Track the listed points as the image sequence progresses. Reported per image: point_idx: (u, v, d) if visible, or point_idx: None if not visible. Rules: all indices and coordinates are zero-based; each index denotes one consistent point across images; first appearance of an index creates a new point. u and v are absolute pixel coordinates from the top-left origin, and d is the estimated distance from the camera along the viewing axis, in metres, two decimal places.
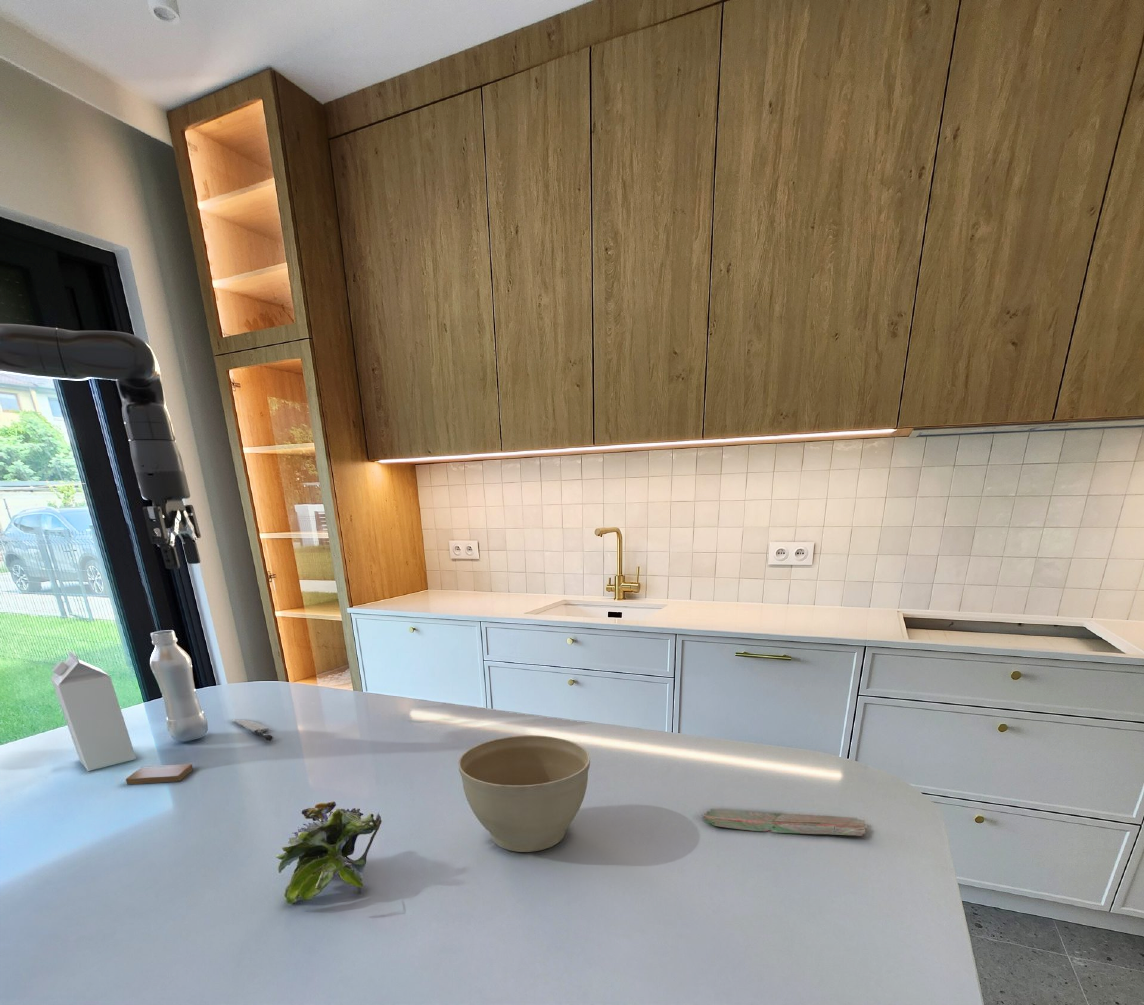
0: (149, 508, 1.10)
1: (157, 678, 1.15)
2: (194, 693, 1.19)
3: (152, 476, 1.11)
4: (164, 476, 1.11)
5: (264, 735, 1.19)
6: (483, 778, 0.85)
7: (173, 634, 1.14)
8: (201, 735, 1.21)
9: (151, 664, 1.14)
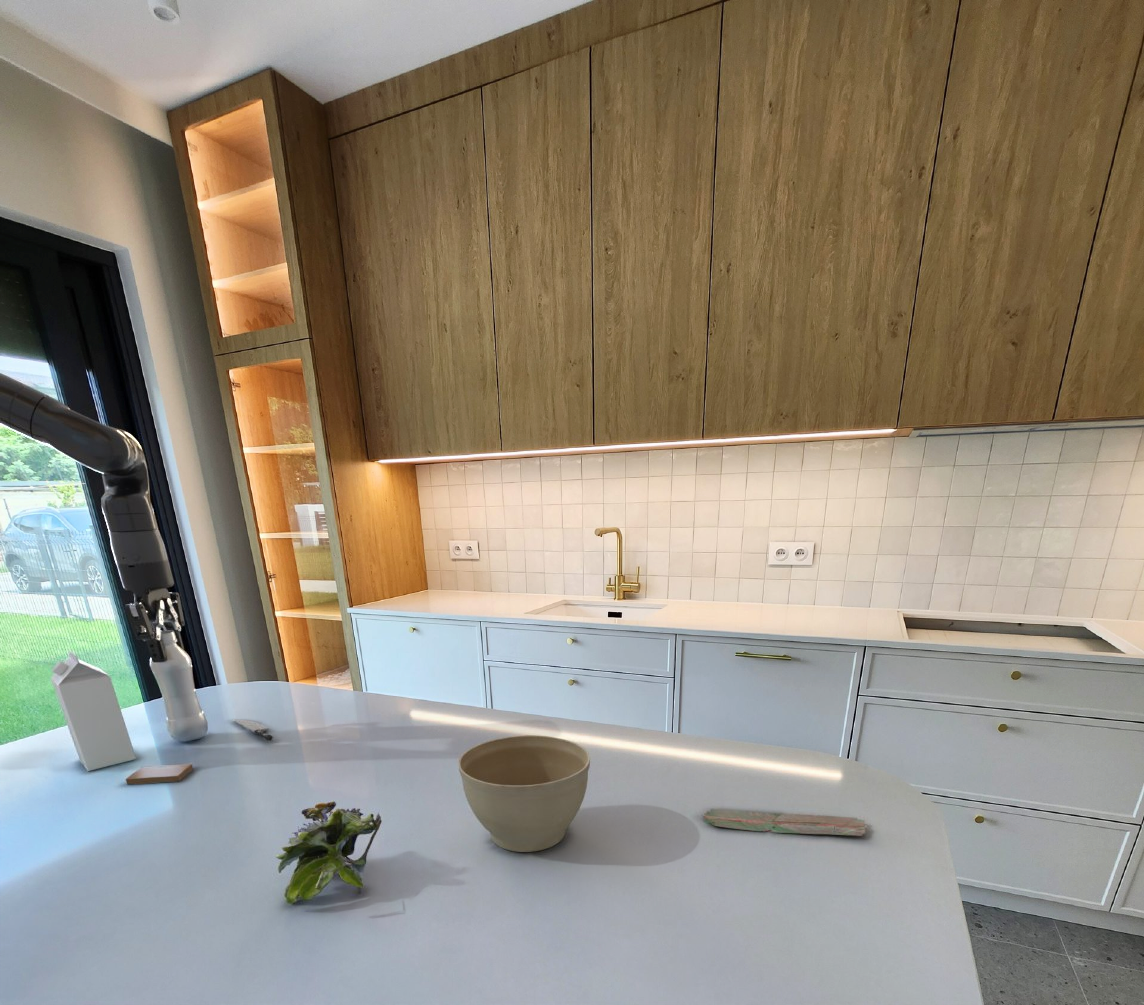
0: (131, 607, 1.06)
1: (157, 678, 1.15)
2: (194, 693, 1.19)
3: (133, 568, 1.06)
4: (146, 567, 1.07)
5: (264, 735, 1.19)
6: (483, 778, 0.85)
7: (173, 634, 1.14)
8: (201, 735, 1.21)
9: (151, 664, 1.14)
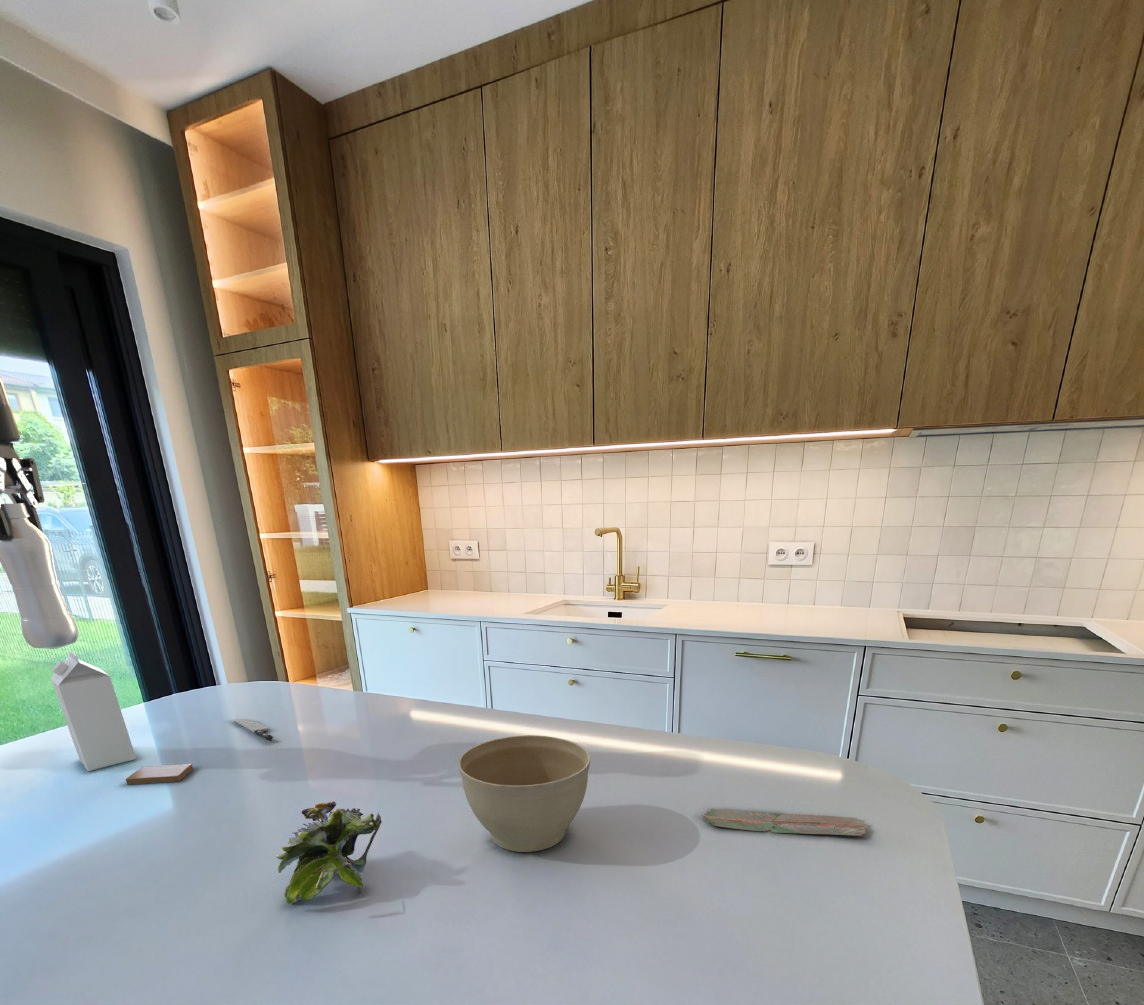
0: None
1: (2, 563, 0.90)
2: (56, 587, 0.94)
3: None
4: None
5: (264, 735, 1.19)
6: (483, 778, 0.85)
7: (22, 507, 0.90)
8: (67, 642, 0.96)
9: None
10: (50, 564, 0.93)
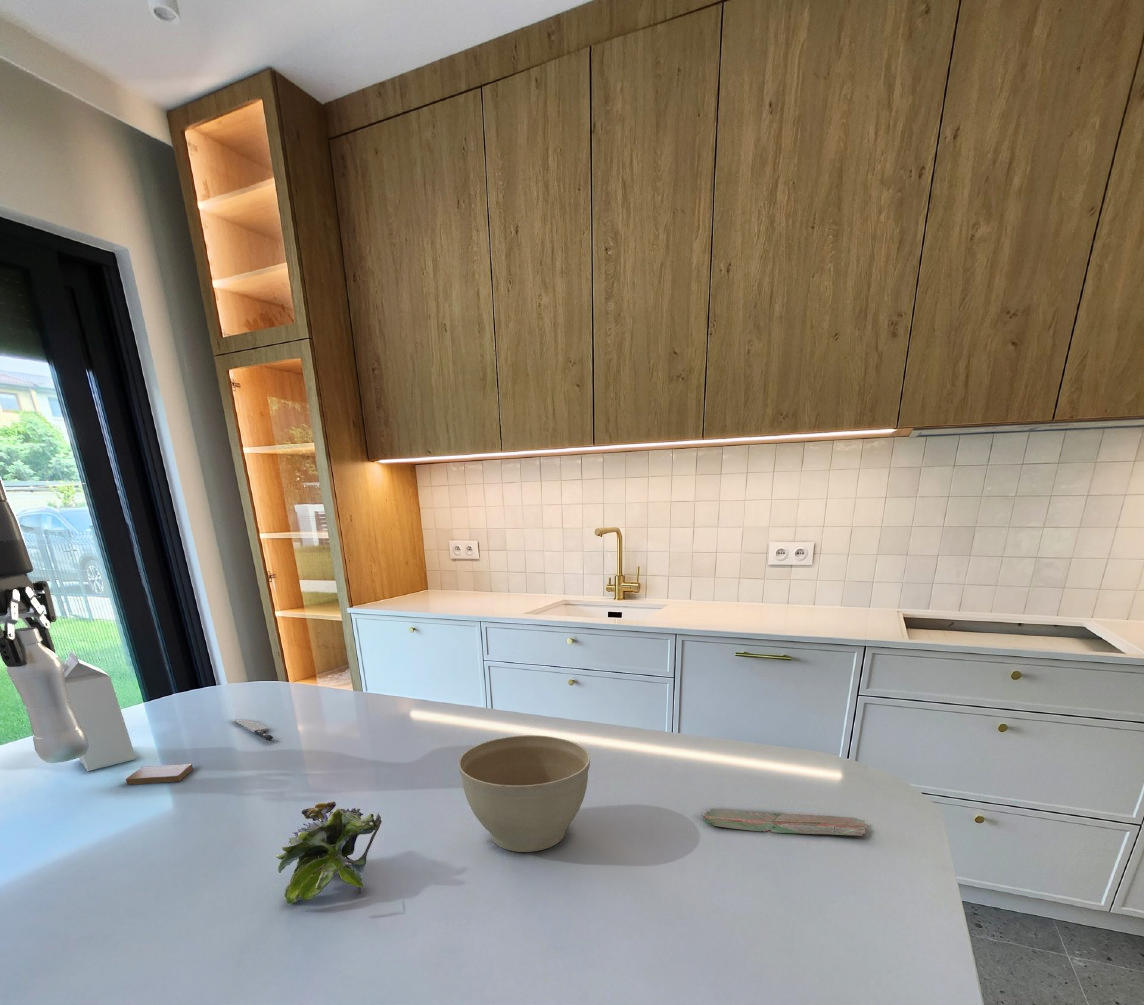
0: None
1: (16, 686, 0.93)
2: (67, 704, 0.97)
3: None
4: None
5: (264, 735, 1.19)
6: (483, 778, 0.85)
7: (35, 632, 0.93)
8: (78, 755, 0.99)
9: (7, 669, 0.92)
10: (62, 683, 0.96)
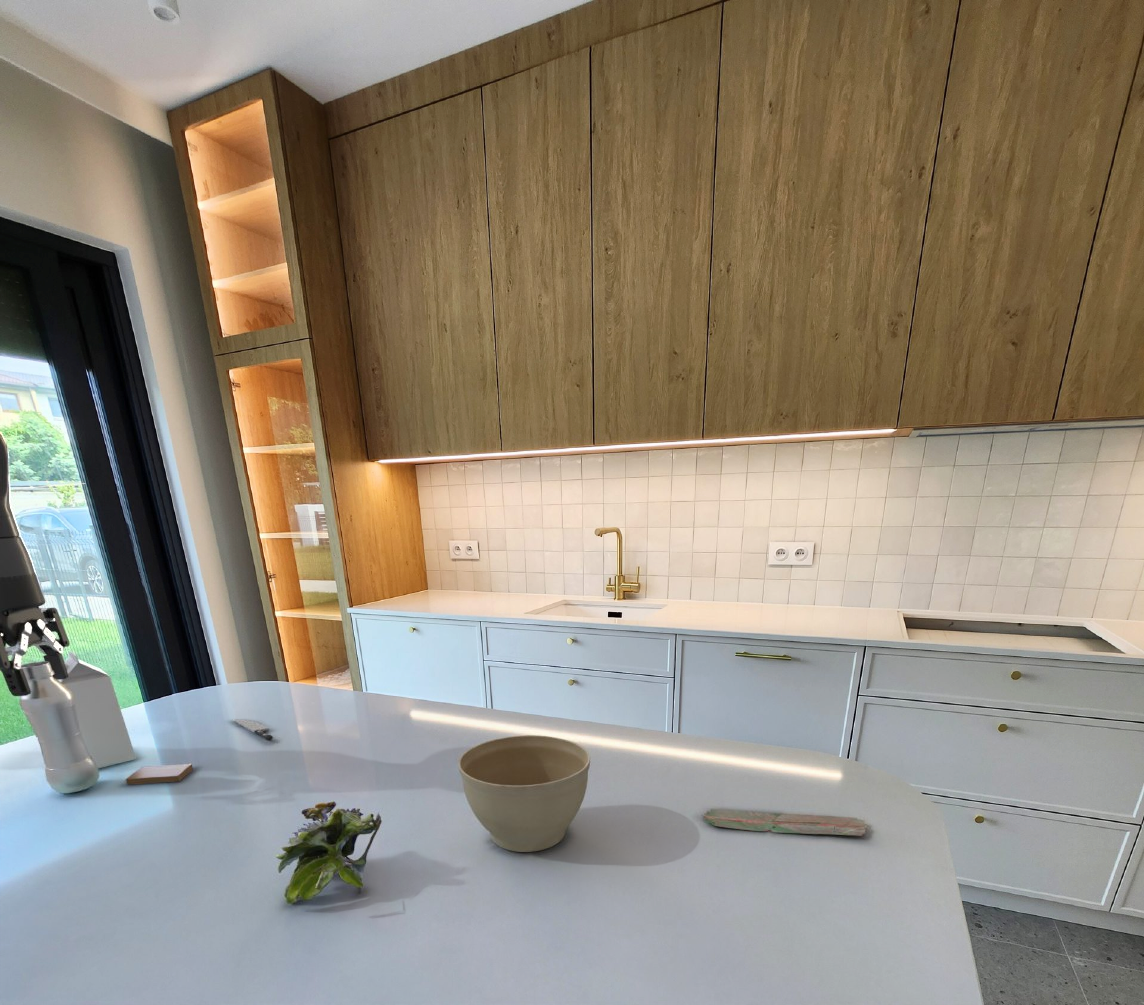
0: None
1: (28, 719, 0.95)
2: (78, 736, 0.99)
3: None
4: (2, 583, 0.87)
5: (264, 735, 1.19)
6: (483, 778, 0.85)
7: (47, 666, 0.95)
8: (89, 785, 1.01)
9: (20, 703, 0.94)
10: (73, 715, 0.98)
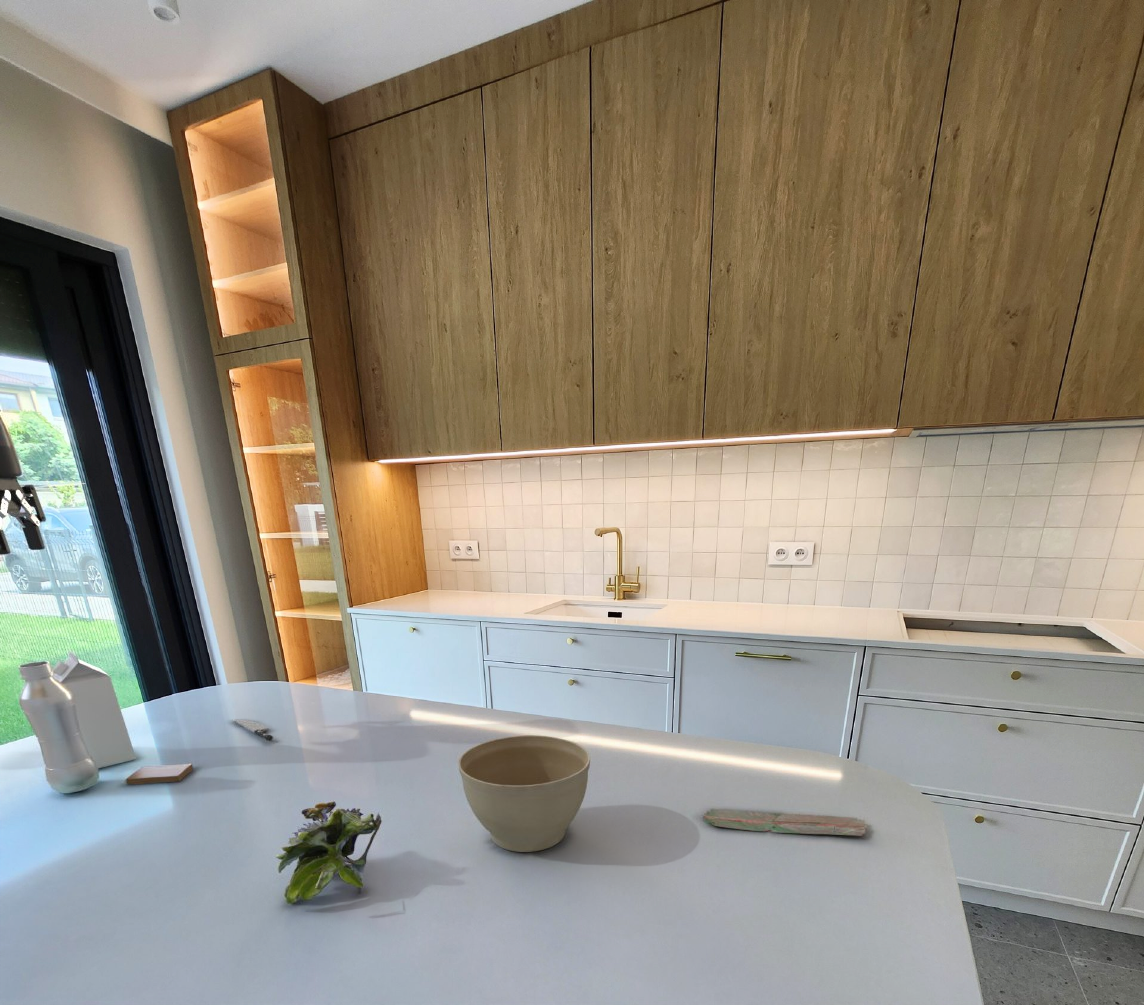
0: None
1: (28, 719, 0.95)
2: (78, 736, 0.99)
3: None
4: None
5: (264, 735, 1.19)
6: (483, 778, 0.85)
7: (47, 666, 0.95)
8: (89, 785, 1.01)
9: (20, 703, 0.94)
10: (73, 715, 0.98)
